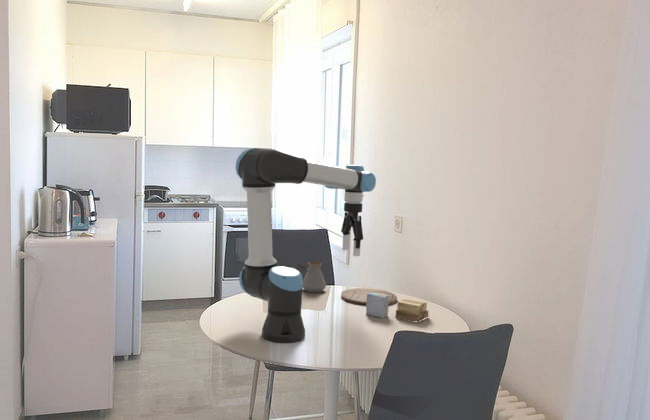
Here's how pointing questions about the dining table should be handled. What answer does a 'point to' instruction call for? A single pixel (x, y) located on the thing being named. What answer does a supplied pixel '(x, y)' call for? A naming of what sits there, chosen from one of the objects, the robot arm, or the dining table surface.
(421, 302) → the oak slab
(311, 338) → the dining table surface
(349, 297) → the trivet
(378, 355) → the dining table surface
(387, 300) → the medicine box
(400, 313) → the walnut slab
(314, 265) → the coffee pot
